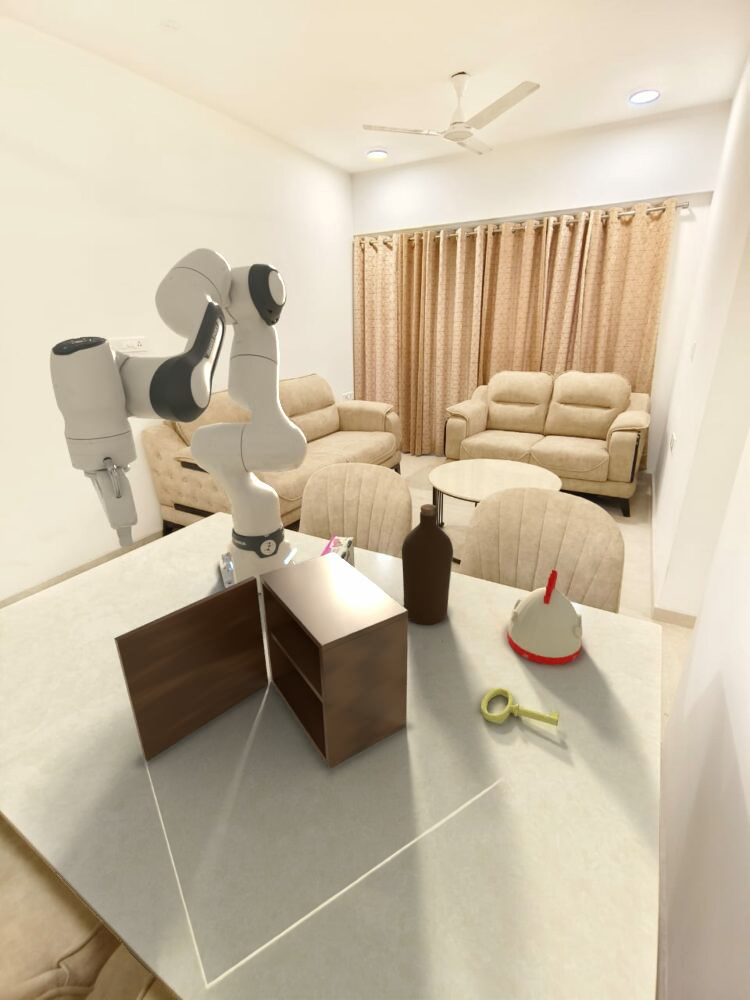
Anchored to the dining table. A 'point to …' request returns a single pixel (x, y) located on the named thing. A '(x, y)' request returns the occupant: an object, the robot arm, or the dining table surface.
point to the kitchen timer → (546, 626)
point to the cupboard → (336, 654)
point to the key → (514, 709)
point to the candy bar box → (341, 548)
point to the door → (193, 664)
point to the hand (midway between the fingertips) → (121, 533)
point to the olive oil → (427, 569)
